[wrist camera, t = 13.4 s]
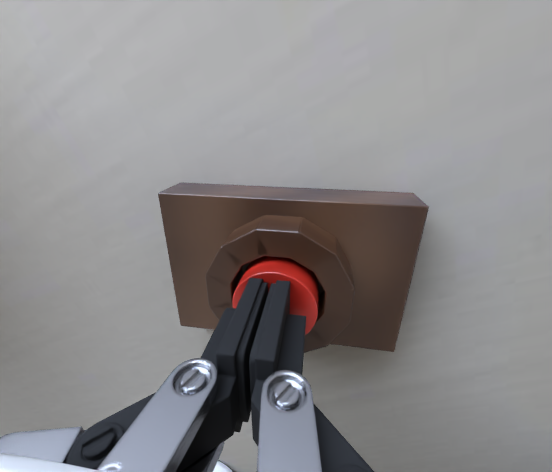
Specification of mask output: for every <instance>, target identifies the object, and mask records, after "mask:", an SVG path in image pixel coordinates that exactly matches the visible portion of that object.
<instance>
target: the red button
mask: <svg viewBox="0 0 552 472" xmlns="http://www.w3.org/2000/svg"><path fill="white" fill-rule="evenodd" d="M249 278H259V279H263V280H264V283H268V293H269V290H270V286H271V283H275V284H276V281H277V280H282V281H290V314H293V315H302V316H306V329H305V335H306V334H308V333H309V332H310V331H311V329H312V328H313V327H314V325H315V323H316V320H317V316H318V295H319V285H318V281H317V277H316V275H315V273H314V272H313V271H311V270H309V269H308V268H306V267H304V266H303V265H301V264H299V263H298V262H296V261H294V260H293V259H291V258H284V257H272V256H263V257H260V258H258V259H256V260H254V261H252V262H251V263H250V264H249V265H248V267H247V268H246V270H245V272H244V274H243V276H242V278H241V280H240V282H239V284H238V286H237V288H236V290H235V292H234V295H233V300H232V305H233V308H236V307H237V304H238V302H239V300H240V298H241V296H242V293H243V291H244V289H245V287H246V284H247V282H248V280H249Z"/></svg>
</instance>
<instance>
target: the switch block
mask: <svg viewBox="0 0 552 472" xmlns="http://www.w3.org/2000/svg"><path fill="white" fill-rule="evenodd" d="M158 196H159V201H160V207H161V213H162V219H163V225H164V231H165V236H166V242H167V248H168V254H169V260H170V266H171V271H172V277H173V283H174V289H175V295H176V301H177V306H178V312H179V318H180V324H181V326H188V327H197V328H205V329H213V330H215V328H216V326H217V324H218V322H219V320H220V318H221V316H222V314H223V312H224V311H225V309H226V308H233V305H232V300H233V295H234V292H235V290H236V288H237V286H238V284H239V282H240V280H241V278H242V276H243V274H244V272H245V270H246V268H247V267H248V265H249V264H250V263H251V262H252V261H254V260H256V259H258V258H260V257H263V256H272V257H284V258H291V259H293V260H294V261H296V262H298V263H299V264H301V265H303V266H304V267H306V268H308V269H309V270H311V271H313V272H314V273H315V275H316V277H317V281H318V285H319V295H318V316H317V320H316V323H315V325H314V327H313V328H312V329H311V331H310V332H309V333H308V334H306V335H305V344H304V353H305V352H309V351H312V350H315V349H319V348H322V347H326V346H328V345H329V344H335V345H343V346H351V347H359V348H367V349H375V350H383V351H391V352H394V350H395V346H396V342H397V338H398V334H399V329H400V325H401V321H402V317H403V313H404V308H405V304H406V300H407V296H408V292H409V288H410V283H411V279H412V275H413V271H414V267H415V263H416V258H417V254H418V250H419V246H420V242H421V237H422V233H423V229H424V225H425V221H426V217H427V212H428V208H429V207H428V206H427V205H426V204H425V203H424V202H423V201H422V200H420V199H419V198H418V197H417V196H416V195H415V194H414V193H400V192H377V191H355V190H332V189H309V188H286V187H264V186H241V185H218V184H196V183H179V184H177V185H174V186H172V187H170V188H168V189H166V190H164V191H162V192H160V193H158Z"/></svg>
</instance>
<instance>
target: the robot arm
mask: <svg viewBox="0 0 552 472" xmlns="http://www.w3.org/2000/svg"><path fill="white" fill-rule="evenodd" d="M305 329H306V316H302V315H293V314H290V281H282V280H277V281H276V284H275V283H271V286H270V290H269V293H268V283H264V280H263V279H259V278H249V280H248V282H247V284H246V287H245V289H244V291H243V293H242V296H241V298H240V300H239V302H238V304H237V307H236V308H226V309H225V311H224V312H223V314H222V316H221V318H220V320H219V322H218V324H217V326H216V328H215V330H214V332H213V334H212V336H211V338H210V340H209V342H208V344H207V346H206V348H205V350H204V352H203V354H202V356H201V358H195V359H190V360H187V361H185V362H183V363H181V364H180V365H178V366H177V367H176V368H175V369H174V370H173V371H172V372H171V374H170V375H169V376H168V377H167V379H166V380H165V381H164V383H163V384H162V385H161V386H160V388H159V389H158V390H157V392H156V393H154V394H152V395H150V396H148V397H146V398H144V399H142V400H140V401H138V402H136V403H135V404H133V405H131V406H129V407H127V408H125V409H123V410H121V411H119V412H117V413H115V414H113V415H111V416H110V417H108V418H106V419H104V420H102V421H100V422H98V423H96V424H95V425H93V426H92V427H90V428H89V429H87V430H83V428H82V427H70V428H58V429H47V430H35V431H23V432H14V433H10V434H6V435H4V436H2V437H0V472H213V470H214V468H215V466H216V464H217V461H218V459H219V457H220V454H221V452H222V450H223V446H224V441H225V440H227V439H228V438H229V437H231V436H232V435H233V434H234V431H235V432H240V430H241V426H242V422H248V420H249V416H250V412H252V429H253V439H254V441H255V443H256V444H257V446H258V461H257V472H374V471H373V470H372V469H371V468H370V466H369V465H368V464H367V463H366V462H365V461H364V460H363V459H362V457H361V456H360V455H359V454H358V453H357V452H356V451H355V450H354V448H353V447H352V446H351V445H350V444H349V443H348V442H347V440H346V439H345V438H344V437H343V436H342V435H341V434H340V433H339V431H338V430H337V429H336V428H335V427H334V426H333V425H332V424H331V422H330V421H329V420H328V419H327V418H326V417H325V416H324V415H323V413H322V412H321V411H320V410H319V409H318V408H317V407H316V406H315V404H314V403H313V395H312V390H311V386H310V384H309V382H308V381H307V379H306V378H305V377H303V376H302V369H303V357H304V344H305Z"/></svg>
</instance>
